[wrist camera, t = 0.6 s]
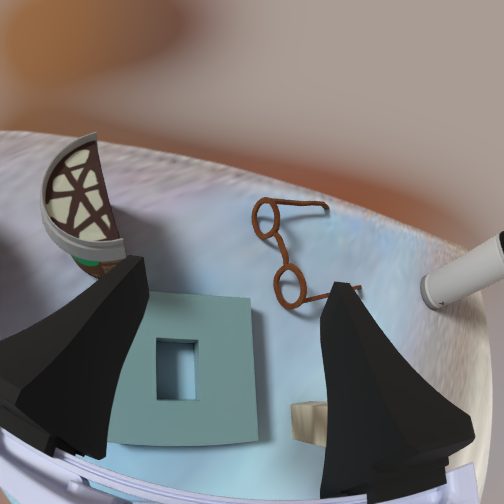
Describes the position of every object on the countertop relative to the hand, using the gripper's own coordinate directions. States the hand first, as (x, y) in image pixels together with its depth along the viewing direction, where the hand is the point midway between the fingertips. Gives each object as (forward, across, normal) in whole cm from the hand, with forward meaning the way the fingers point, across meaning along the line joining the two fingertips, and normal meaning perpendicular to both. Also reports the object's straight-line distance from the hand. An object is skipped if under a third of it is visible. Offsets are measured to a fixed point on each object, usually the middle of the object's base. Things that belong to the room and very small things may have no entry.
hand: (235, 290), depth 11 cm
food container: (+13, +17, +10) cm, 23 cm away
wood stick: (+4, -8, +22) cm, 24 cm away
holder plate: (+5, +5, +17) cm, 18 cm away
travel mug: (+24, -32, +20) cm, 45 cm away
